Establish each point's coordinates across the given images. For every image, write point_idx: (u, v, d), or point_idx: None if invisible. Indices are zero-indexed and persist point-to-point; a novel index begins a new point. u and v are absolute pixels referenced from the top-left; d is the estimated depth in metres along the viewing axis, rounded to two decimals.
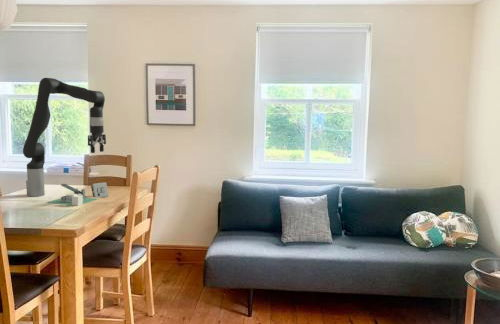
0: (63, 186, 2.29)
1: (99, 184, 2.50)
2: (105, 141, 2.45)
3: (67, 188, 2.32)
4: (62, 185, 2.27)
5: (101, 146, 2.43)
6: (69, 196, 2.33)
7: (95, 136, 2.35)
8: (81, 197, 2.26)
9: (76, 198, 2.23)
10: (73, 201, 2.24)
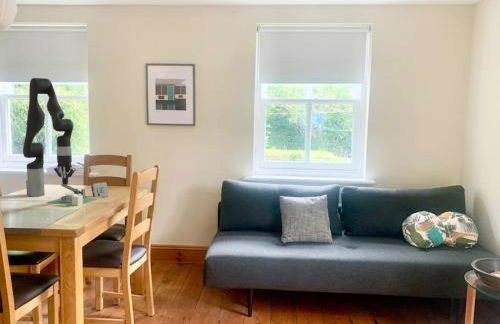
0: (63, 186, 2.29)
1: (99, 184, 2.50)
2: (61, 174, 2.30)
3: (67, 188, 2.32)
4: (62, 185, 2.27)
5: None
6: (69, 196, 2.33)
7: None
8: (81, 197, 2.26)
9: (76, 198, 2.23)
10: (73, 201, 2.24)
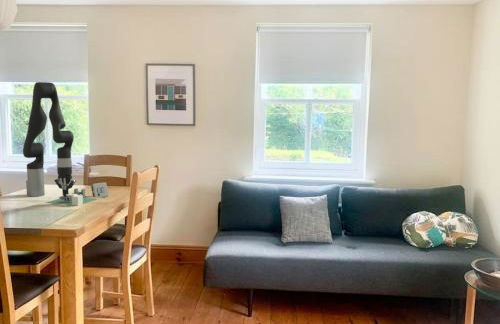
0: None
1: (99, 184, 2.50)
2: None
3: None
4: (61, 198, 2.26)
5: None
6: None
7: None
8: (81, 197, 2.26)
9: (76, 198, 2.23)
10: (73, 201, 2.24)
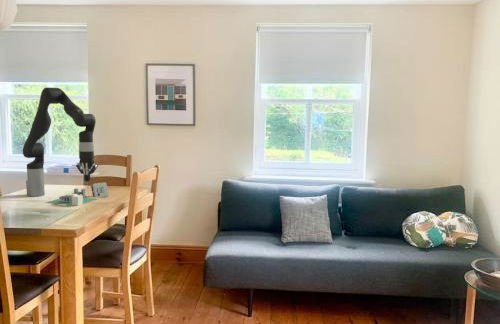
0: None
1: (99, 184, 2.50)
2: (83, 170, 2.23)
3: None
4: (61, 198, 2.26)
5: None
6: None
7: None
8: (81, 197, 2.26)
9: (76, 198, 2.23)
10: (73, 201, 2.24)
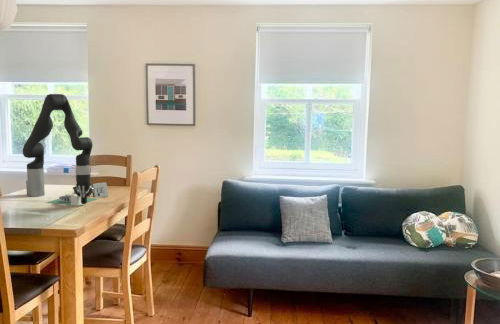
0: None
1: (99, 184, 2.50)
2: (80, 192, 2.26)
3: None
4: (61, 198, 2.26)
5: None
6: None
7: None
8: (80, 197, 2.26)
9: (75, 198, 2.23)
10: (72, 201, 2.24)
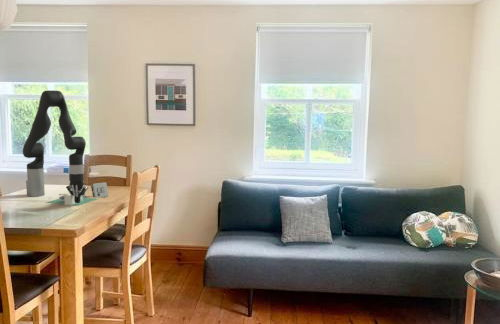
0: None
1: (99, 184, 2.50)
2: None
3: None
4: (61, 198, 2.26)
5: None
6: None
7: None
8: None
9: (69, 197, 2.24)
10: (66, 200, 2.25)
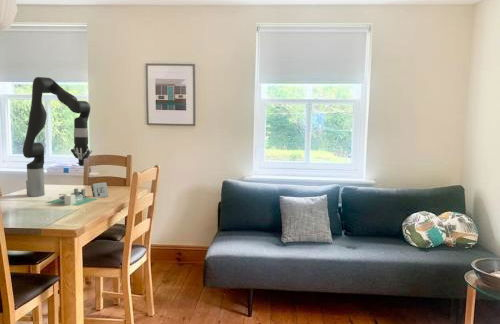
0: None
1: (99, 184, 2.50)
2: (77, 155, 2.34)
3: None
4: (61, 198, 2.26)
5: None
6: None
7: None
8: (74, 196, 2.27)
9: (69, 197, 2.24)
10: (66, 200, 2.25)
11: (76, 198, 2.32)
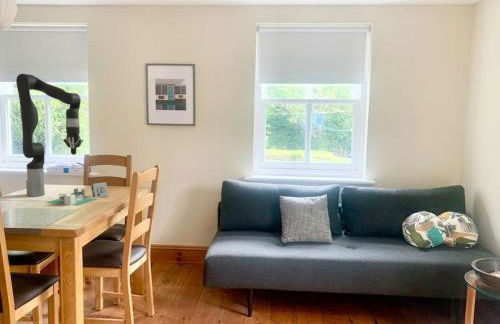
0: None
1: (99, 184, 2.50)
2: None
3: None
4: (61, 198, 2.26)
5: None
6: None
7: None
8: (74, 196, 2.27)
9: (69, 197, 2.24)
10: (66, 200, 2.25)
11: (76, 198, 2.32)
